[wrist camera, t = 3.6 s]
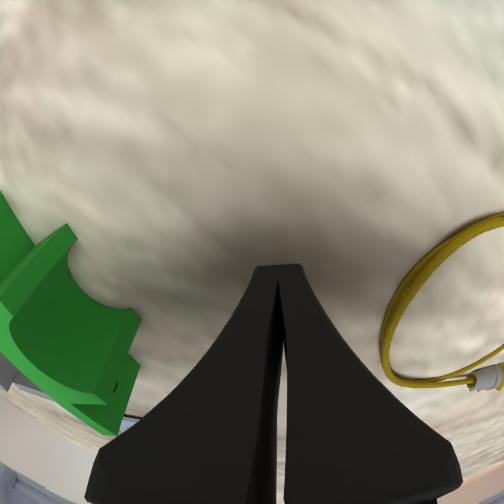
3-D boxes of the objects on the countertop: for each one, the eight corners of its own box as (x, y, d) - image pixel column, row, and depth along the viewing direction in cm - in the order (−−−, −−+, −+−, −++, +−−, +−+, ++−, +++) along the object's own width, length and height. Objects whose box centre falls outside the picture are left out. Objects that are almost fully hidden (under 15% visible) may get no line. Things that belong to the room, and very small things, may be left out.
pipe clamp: (180, 356, 14) (159, 440, 10) (127, 364, 15) (103, 435, 11) (29, 156, 8) (-60, 218, 4) (-8, 199, 9) (-74, 259, 6)
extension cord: (413, 412, 18) (418, 435, 16) (330, 284, 11) (338, 324, 9) (543, 338, 13) (553, 357, 12) (557, 148, 7) (587, 166, 5)
